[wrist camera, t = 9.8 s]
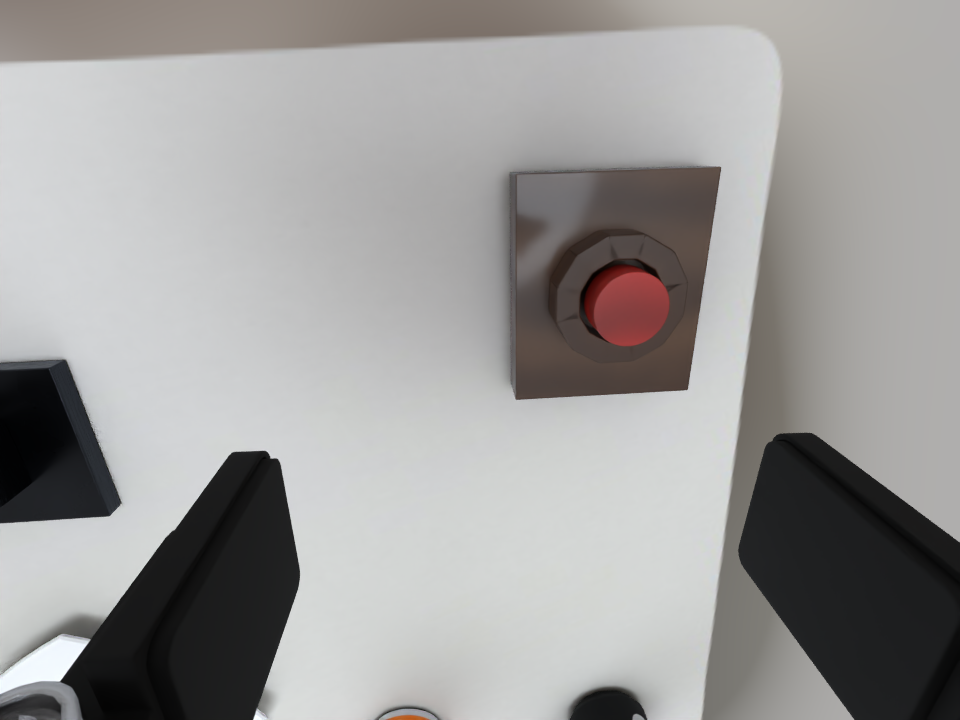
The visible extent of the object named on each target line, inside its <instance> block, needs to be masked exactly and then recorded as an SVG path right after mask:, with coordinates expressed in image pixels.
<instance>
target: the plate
mask: <svg viewBox="0 0 960 720" xmlns="http://www.w3.org/2000/svg"><path fill="white" fill-rule="evenodd" d="M90 640H91V639H88V638H83V637H77V636H72V635H67V634H61V635H59V636H57V637H56V638H54V639H52V640H51V641H49V642H47V643H45V644H44V645H42V646H41V647H39V648H38V649H36V650H35V651H33V652H32V653H30V654H29V655H27V656H26V657H24V658H23V659H21V660H20V661H18V662H17V663H15V664H14V665H13V666H12V667H10V668H9V669H8V670H7V671H6V672H4V673H3V674H2V675H1V676H0V694H2V693H4V692H6V691H9V690H11V689H13V688H16V687H18V686H22V685H26V684H30V683H35V682H39V681H59V682H60V681H61V679H62V678H63V677H64V675H65V674H66V672H67V671H68V670H69V668H70V667H71V666H72V664H73V663H74V662H75V660H76V659H77V658H78V656H79V655H80V653H81V652H82V651H83V649H84V648H85V647H86V645H87V644H88V643H89V641H90ZM253 720H268V716H267V715H265V714H264V713H263V712H261V711H260V710H259V709H257V710H256V713H255V716H254V719H253Z"/></svg>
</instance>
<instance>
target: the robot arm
mask: <svg viewBox="0 0 960 720" xmlns="http://www.w3.org/2000/svg"><path fill="white" fill-rule="evenodd" d="M738 552H739V558H740V561H741V564H742V565H743V567H744V569H745V570H746V572H747V573H748V574H749V576H750V577H751V579H752V580H753V581H754V583H755V584H756V585H757V587H758V588H759V590H760V591H761V592H762V594H763V595H764V596H765V598H766V599H767V600H768V602H769V603H770V605H771V606H772V607H773V609H774V610H775V611H776V613H777V614H778V616H779V617H780V618H781V620H782V621H783V622H784V624H785V625H786V626H787V628H788V629H789V630H790V632H791V633H792V635H793V636H794V637H795V639H796V640H797V642H798V643H799V644H800V646H801V647H802V648H803V650H804V651H805V652H806V654H807V655H808V657H809V658H810V659H811V661H812V662H813V664H814V665H815V666H816V668H817V669H818V670H819V672H820V673H821V675H822V676H823V677H824V679H825V680H826V681H827V683H828V684H829V685H830V687H831V688H832V690H833V691H834V692H835V694H836V695H837V696H838V698H839V699H840V701H841V702H842V703H843V705H844V706H845V707H846V709H847V710H848V712H849V713H850V714H851V715H852V717H853V718H854V720H960V542H958V541H957V540H956V539H954V538H953V537H951V536H950V535H949V534H947V533H946V532H945V531H943V530H942V529H941V528H939V527H938V526H937V525H935V524H934V523H933V522H931V521H930V520H929V519H927V518H926V517H925V516H923V515H922V514H921V513H919V512H918V511H917V510H915V509H914V508H913V507H911V506H910V505H908V504H907V503H906V502H905V501H903V500H902V499H900V498H899V497H898V496H897V495H895V494H894V493H892V492H891V491H890V490H888V489H887V488H886V487H884V486H883V485H882V484H880V483H879V482H878V481H876V480H875V479H874V478H872V477H871V476H870V475H868V474H867V473H866V472H864V471H863V470H862V469H860V468H859V467H858V466H856V465H855V464H853V463H852V462H851V461H850V460H848V459H847V458H846V457H844V456H843V455H842V454H840V453H839V452H838V451H836V450H835V449H834V448H832V447H831V446H830V445H828V444H827V443H826V442H824V441H823V440H821V439H820V438H819V437H817V436H816V435H814V434H812V433H786V434H785V433H784V434H778V435H776V436H775V437H774V439H773V441H772V442H769V443H768V444H767V445H766V447H765V450H764V454H763V457H762V461H761V465H760V469H759V472H758V476H757V480H756V484H755V488H754V491H753V495H752V499H751V502H750V506H749V510H748V514H747V518H746V521H745V525H744V529H743V533H742V536H741V540H740V544H739V549H738ZM299 580H300V569H299V563H298V557H297V552H296V546H295V541H294V535H293V530H292V525H291V519H290V514H289V508H288V503H287V497H286V492H285V486H284V481H283V476H282V470H281V465H280V462H279V460H278V459H270V456H269V454H268V452H266V451H249V452H233V453H231V454H230V455H229V456H228V458H227V459H226V461H225V462H224V463H223V465H222V466H221V467H220V469H219V470H218V471H217V473H216V474H215V476H214V477H213V478H212V480H211V481H210V482H209V484H208V485H207V487H206V488H205V489H204V491H203V492H202V493H201V495H200V496H199V498H198V499H197V500H196V502H195V503H194V504H193V506H192V507H191V509H190V510H189V511H188V513H187V514H186V515H185V517H184V518H183V520H182V521H181V522H180V524H179V525H178V526H177V528H176V529H175V530H174V531H172V532H171V533H170V534H169V535H168V536H167V537H166V538H165V540H164V541H163V542H162V544H161V545H160V546H159V548H158V549H157V550H156V552H155V553H154V554H153V556H152V557H151V559H150V560H149V561H148V563H147V564H146V565H145V567H144V568H143V569H142V571H141V572H140V573H139V575H138V576H137V578H136V579H135V580H134V582H133V583H132V584H131V586H130V587H129V588H128V590H127V591H126V592H125V594H124V595H123V597H122V598H121V599H120V601H119V602H118V603H117V605H116V606H115V607H114V609H113V610H112V611H111V613H110V614H109V616H108V617H107V618H106V620H105V621H104V622H103V624H102V625H101V626H100V628H99V629H98V630H97V632H96V633H95V634H94V636H93V637H92V639H91V640H90V641H89V643H88V644H87V645H86V647H85V648H84V649H83V651H82V652H81V653H80V655H79V656H78V658H77V659H76V660H75V662H74V663H73V664H72V666H71V667H70V668H69V670H68V671H67V672H66V674H65V675H64V677H63V678H62V679H61V681H60V682H59V681H39V682H35V683H30V684H26V685H22V686H18V687H16V688H13V689H11V690H9V691H6V692H4V693H2V694H0V720H253V719H254V716H255V713H256V710H257V707H258V704H259V701H260V699H261V696H262V693H263V690H264V687H265V684H266V681H267V678H268V675H269V672H270V669H271V666H272V663H273V661H274V658H275V655H276V652H277V649H278V646H279V643H280V640H281V637H282V634H283V631H284V628H285V626H286V623H287V620H288V617H289V614H290V611H291V608H292V605H293V602H294V599H295V596H296V593H297V590H298V587H299Z"/></svg>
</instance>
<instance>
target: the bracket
mask: <svg viewBox="0 0 960 720" xmlns="http://www.w3.org/2000/svg"><path fill="white" fill-rule="evenodd" d="M120 504H121V503H120V500H119V498H118V495H117V492H116V490H115V487H114V485H113V482H112V479H111V477H110V474H109V472H108V469H107V467H106V464H105V461H104V459H103V456H102V454H101V451H100V449H99V446H98V443H97V441H96V438H95V436H94V433H93V430H92V428H91V425H90V423H89V420H88V418H87V415H86V412H85V410H84V407H83V405H82V402H81V400H80V397H79V394H78V392H77V389H76V387H75V384H74V381H73V379H72V376H71V374H70V371H69V369H68V366H67V363H66V361H65V360H56V361H36V362H16V363H0V523H14V522H29V521H44V520H60V519H75V518H90V517H105V516H110V515H111V514H112V513H113V512H114V511H115V510H116V509H117V508H118V507H119V506H120Z"/></svg>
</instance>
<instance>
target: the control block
mask: <svg viewBox="0 0 960 720" xmlns="http://www.w3.org/2000/svg"><path fill="white" fill-rule="evenodd" d="M720 172H721V167H713V166H686V167H656V168H625V169H595V170H565V171H534V172H511V173H510V275H511V385H512V388H513V392H514V395H515V398H516V400H520V399H538V398H556V397H573V396H591V395H609V394H627V393H644V392H662V391H680V390H688V384H689V377H690V371H691V364H692V357H693V351H694V344H695V338H696V331H697V324H698V318H699V311H700V304H701V298H702V291H703V285H704V278H705V271H706V265H707V258H708V251H709V245H710V238H711V232H712V225H713V218H714V212H715V205H716V198H717V192H718V185H719V179H720ZM621 264H628V265H633V266H637V267H639V268H641V269H642V270H644V271H646V272H648V273H650V274H651V275H653V276H655V277H656V278H658V279H659V280H660V281H661V282H662V283H663V285H664V286H665V288H666V289H667V292H668V295H669V302H670V306H669V313H668V316H667V319H666V321H665V323H664V325H663V326H662V328H661V329H660V330H659V331H658V332H657V333H656V334H655V335H654V336H653V337H652V338H650V339H649V340H647V341H645V342H643V343H641V344H638V345H634V346H619V345H615V344H612V343H610V342H608V341H607V340H605V339H604V338H603V337H602V336H601V335H600V334H599V333H598V331H597V330H596V329H595V328H594V327H593V326H592V325H591V323H590V322H589V320H588V319H587V317H586V314H585V310H584V298H585V294H586V291H587V288H588V287H589V285H590V283H591V282H592V280H593V279H594V278H595V277H596V276H597V275H598V274H599V273H601V272H602V271H604V270H605V269H607V268H609V267H612V266H615V265H621Z"/></svg>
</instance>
